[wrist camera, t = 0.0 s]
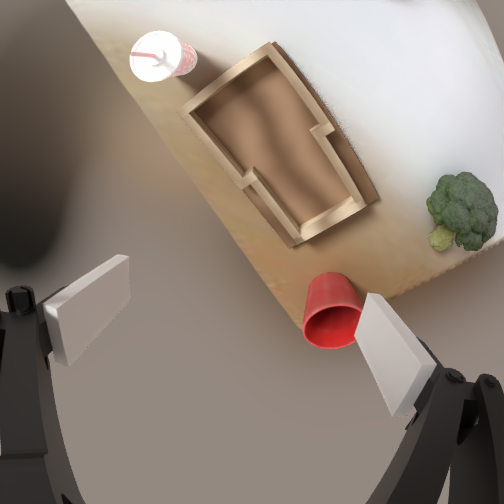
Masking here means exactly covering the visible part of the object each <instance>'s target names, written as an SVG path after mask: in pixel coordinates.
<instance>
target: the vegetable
mask: <svg viewBox="0 0 504 504" xmlns="http://www.w3.org/2000/svg"><path fill="white" fill-rule="evenodd" d="M427 206H428V211H429V212H430V214H431V215H433V216H434V221H435V223H436V224H437V225H438V226H437V228H436V229H435V230H434V231H433V232H432V233H430V234H429V243H430V245H431V246H432V247H433V248H434V249H435V250H438V251H440V252H441V251H443V250H446V249H447V248H448V246H452V240H453V239H454V237H455V236H456V238H455V242H456V244H457V246H458V247H460V245H462V244H463V246H464V249H465V250H467V251H469V250H474V251H478V250H479V249H481V248H482V246H483V244H484V242H485V243H486V241H487V240H489V239H490V238H491V237H492V236H493V235H494V233H495V231H496V225H497V223H496V222H497V215H498V208H497V206H496V204H495V202H494V198H493V194H492V193H491V191H490V190H489V188H487V187H486V185H485V183H483V182H481V181H479V180H478V179H477V178H476V177H475V176H474V175H473V174H472V173H468V172H462V173H460V174H458V175H457V176H456V177H455V176H454V175H444V176H443V177H441V178H440V179H439V181H438V184H437V186H436V191H434V192H433V193H432V195H431V197H429V198H428V199H427Z"/></svg>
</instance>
